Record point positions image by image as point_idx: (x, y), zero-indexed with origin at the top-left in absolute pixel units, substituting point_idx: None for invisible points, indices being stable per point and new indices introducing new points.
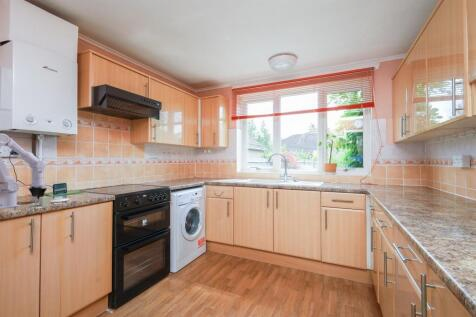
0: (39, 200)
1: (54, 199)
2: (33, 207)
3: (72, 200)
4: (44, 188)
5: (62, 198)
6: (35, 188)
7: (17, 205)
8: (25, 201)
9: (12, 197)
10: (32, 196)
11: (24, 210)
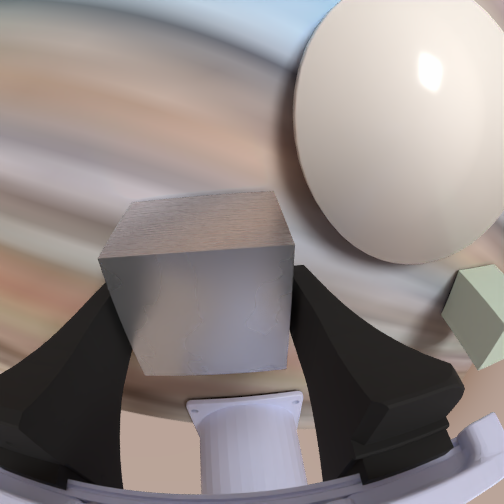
0: (465, 346)
1: (381, 110)
2: (450, 346)
3: (498, 11)
4: (436, 418)
5: (399, 1)
6: (78, 455)
7: (301, 403)
8: (27, 300)
9: (305, 477)
10: (197, 373)
11: (461, 376)
